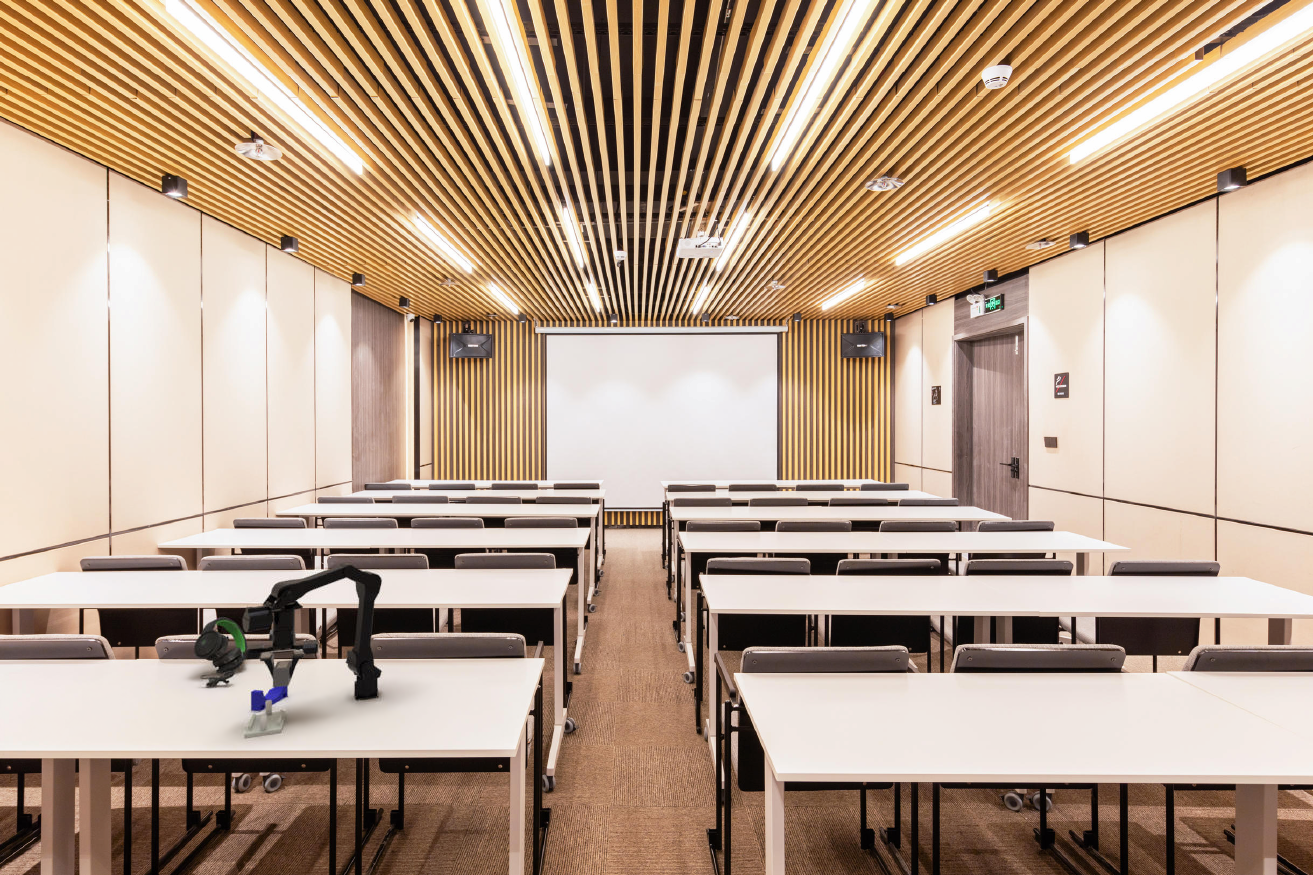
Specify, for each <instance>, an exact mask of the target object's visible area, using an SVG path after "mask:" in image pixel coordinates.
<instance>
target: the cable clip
mask: <svg viewBox="0 0 1313 875" xmlns="http://www.w3.org/2000/svg"><path fill="white" fill-rule="evenodd" d="M288 690H289V688H288V686H281V687H272V688H270V689H269V690H268V691H267V693H266V694H264V690H261V689H260V690H259V689H254V690H252V691H250V711H251V712H261V711H264V710H266V701H267V700H272V705H275V704H276V703H278V702H280V701H282V700H284V699H286V698H287V697H288V695H289V694H288V693H289V691H288Z"/></svg>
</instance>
